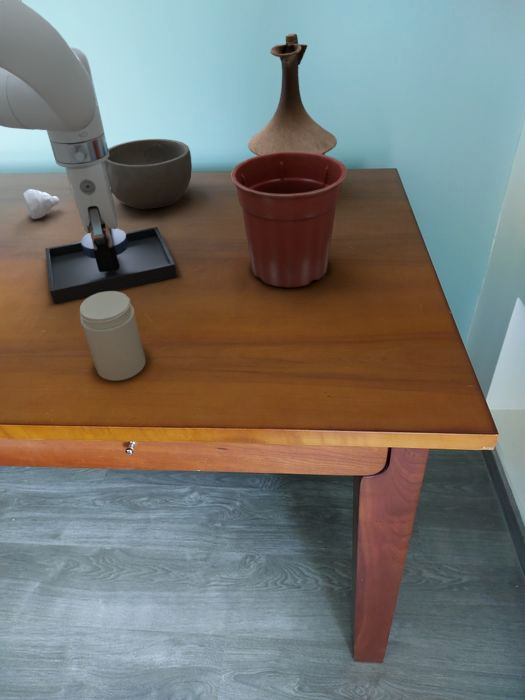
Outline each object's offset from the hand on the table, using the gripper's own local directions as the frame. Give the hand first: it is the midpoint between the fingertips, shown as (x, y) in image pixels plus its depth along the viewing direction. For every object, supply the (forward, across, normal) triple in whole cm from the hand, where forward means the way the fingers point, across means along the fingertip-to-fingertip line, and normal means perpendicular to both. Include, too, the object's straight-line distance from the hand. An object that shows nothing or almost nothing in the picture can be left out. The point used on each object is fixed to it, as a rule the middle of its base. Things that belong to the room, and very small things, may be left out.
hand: (108, 257), depth 86 cm
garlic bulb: (+2, +25, +11) cm, 28 cm away
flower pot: (+2, -10, -28) cm, 30 cm away
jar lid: (-3, 0, 0) cm, 3 cm away
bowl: (+2, +25, -10) cm, 27 cm away
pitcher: (+2, +18, -38) cm, 42 cm away
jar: (+2, -25, 0) cm, 25 cm away
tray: (+2, 0, 0) cm, 2 cm away
